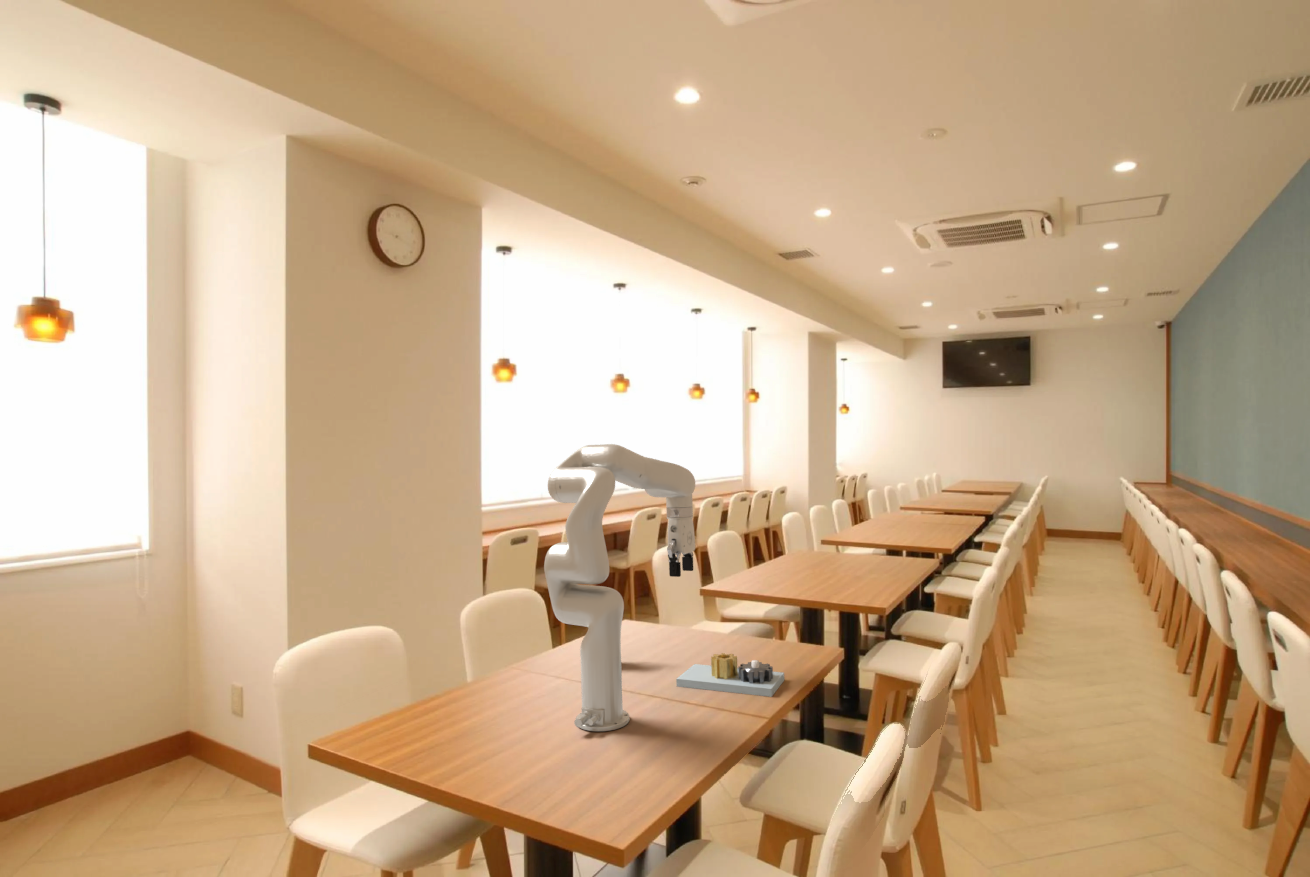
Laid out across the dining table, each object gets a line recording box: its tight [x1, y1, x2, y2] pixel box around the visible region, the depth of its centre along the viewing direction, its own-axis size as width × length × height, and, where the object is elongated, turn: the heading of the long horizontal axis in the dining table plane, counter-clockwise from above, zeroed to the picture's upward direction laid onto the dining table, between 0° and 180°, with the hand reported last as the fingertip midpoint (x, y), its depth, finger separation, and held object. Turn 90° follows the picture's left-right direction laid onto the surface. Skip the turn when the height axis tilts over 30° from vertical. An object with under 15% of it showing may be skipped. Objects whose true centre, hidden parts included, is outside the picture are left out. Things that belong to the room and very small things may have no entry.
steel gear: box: [737, 661, 774, 684], centre depth 188 cm, size 9×9×3 cm
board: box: [675, 659, 785, 698], centre depth 191 cm, size 14×26×6 cm, turn 66°
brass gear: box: [710, 652, 738, 679], centre depth 191 cm, size 7×7×5 cm
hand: (681, 573), depth 201 cm, fingers open, 9 cm apart
